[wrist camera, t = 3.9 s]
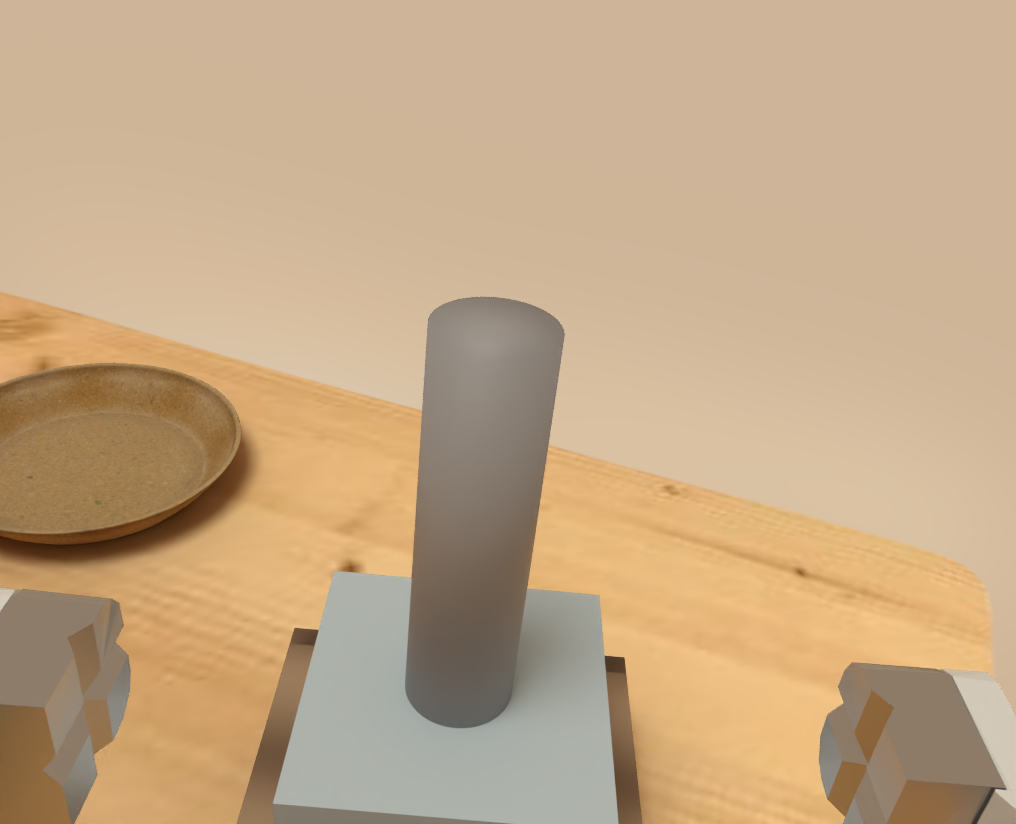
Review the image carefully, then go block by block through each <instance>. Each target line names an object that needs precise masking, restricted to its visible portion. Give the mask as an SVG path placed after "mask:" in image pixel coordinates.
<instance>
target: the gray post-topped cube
mask: <svg viewBox="0 0 1016 824" xmlns="http://www.w3.org/2000/svg"><path fill="white" fill-rule="evenodd" d="M427 329H428V330H427V345H426V360H425V376H424V391H423V408H422V423H421V439H420V455H419V470H418V486H417V502H416V518H415V534H414V549H413V565H412V578H407V577H396V576H385V575H374V574H363V573H352V572H341V571H334V575H333V578H332V582H331V586H330V590H329V594H328V597H327V601H326V605H325V609H324V612H323V616H322V620H321V624H320V628H319V631H318V635H317V639H316V643H315V646H314V650H313V654H312V658H311V661H310V665H309V669H308V673H307V677H306V680H305V684H304V688H303V692H302V695H301V699H300V703H299V707H298V711H297V714H296V718H295V722H294V726H293V729H292V733H291V737H290V741H289V745H288V748H287V752H286V756H285V760H284V763H283V767H282V771H281V775H280V778H279V782H278V786H277V790H276V794H275V797H274V801H273V819H274V824H619V823H618V811H617V799H616V787H615V775H614V763H613V751H612V740H611V728H610V716H609V704H608V692H607V680H606V668H605V656H604V644H603V632H602V620H601V608H600V596H599V595H592V594H581V593H570V592H559V591H548V590H537V589H527V586H528V579H529V572H530V566H531V559H532V552H533V545H534V539H535V532H536V525H537V518H538V512H539V505H540V498H541V491H542V484H543V478H544V471H545V464H546V457H547V451H548V444H549V437H550V430H551V423H552V417H553V410H554V403H555V396H556V389H557V383H558V376H559V369H560V363H561V356H562V349H563V342H564V329H563V327H562V325H561V324H560V322H559V321H558V320H557V319H556V318H555V317H553V316H552V315H551V314H549V313H547V312H546V311H544V310H542V309H540V308H538V307H535V306H533V305H530V304H527V303H524V302H520V301H516V300H511V299H505V298H496V297H472V298H463V299H458V300H454V301H451V302H448V303H445V304H443V305H441V306H439V307H438V308H436V309H435V310H434V311H433V312H432V313H431V314H430V316H429V319H428V328H427Z"/></svg>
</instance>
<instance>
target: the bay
mask: <svg viewBox="0 0 1016 824" xmlns="http://www.w3.org/2000/svg"><path fill="white" fill-rule="evenodd" d="M318 631H319V630H312V629H301V628H294V632H293V635H292V639H291V642H290V645H289V649H288V652H287V656H286V659H285V662H284V666H283V669H282V672H281V676H280V679H279V683H278V686H277V689H276V693H275V696H274V700H273V703H272V706H271V710H270V713H269V716H268V720H267V723H266V727H265V730H264V733H263V737H262V740H261V744H260V747H259V750H258V754H257V757H256V760H255V764H254V767H253V771H252V774H251V777H250V781H249V784H248V788H247V791H246V794H245V798H244V801H243V804H242V808H241V811H240V815H239V818H238V821H237V824H274V819H273V801H274V797H275V794H276V790H277V786H278V782H279V778H280V775H281V771H282V767H283V763H284V760H285V756H286V752H287V748H288V745H289V741H290V737H291V733H292V729H293V726H294V722H295V718H296V714H297V711H298V707H299V703H300V699H301V695H302V692H303V688H304V684H305V680H306V677H307V673H308V669H309V665H310V661H311V658H312V654H313V650H314V646H315V643H316V639H317V635H318ZM605 668H606V680H607V692H608V704H609V716H610V728H611V740H612V751H613V763H614V775H615V787H616V799H617V811H618V823H619V824H642V818H641V809H640V799H639V790H638V781H637V771H636V762H635V753H634V743H633V734H632V725H631V715H630V706H629V697H628V687H627V678H626V669H625V659H624V658H623V657H612V656H605Z"/></svg>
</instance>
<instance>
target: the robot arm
mask: <svg viewBox="0 0 1016 824" xmlns="http://www.w3.org/2000/svg"><path fill="white" fill-rule="evenodd" d="M123 626H124V625H123V620H122V615H121V610H120V605H119V603H118V602H116V601H114V600H113V599H108V598H99V597H90V596H81V595H72V594H63V593H54V592H45V591H36V590H27V589H22V590H17V589H9V588H0V824H74V823H75V821H76V819H77V817H78V815H79V812H80V810H81V808H82V806H83V804H84V802H85V800H86V798H87V796H88V793H89V791H90V789H91V787H92V785H93V783H94V781H95V779H96V777H97V770H96V764H95V759H94V754H95V753H96V752H98V751H99V750H100V749H102V748H103V747H105V746H106V745H107V744H109V743H110V742H112V741H113V740H114V738H115V736H116V733H117V731H118V729H119V727H120V724H121V722H122V720H123V717H124V713H125V709H126V705H127V700H128V696H129V692H130V664H129V657H128V654H127V653H126V652H125V651H124V650H123V649H122V648H121V647H120V646H119V645H118V644H117V643H116V642H115V641H116V639H117V637H118V635H119V633H120V632H121V630H122V628H123ZM838 688H839V691H840V694H841V696H842V699H843V702H844V703H843V704H842V705H841V706H839V707H838V708H836V709H835V710H833V711H832V712H830V713H829V714H828V715H827V718H826V721H825V724H824V727H823V730H822V733H821V736H820V752H819V763H820V771H821V778H822V782H823V786H824V789H825V793H826V796H827V799H828V800H829V801H830V802H831V803H832V804H833V805H834V806H835V807H836V808H837V809H838V810H839V811H840V812H841V813H842V814H843V815H844V816H845V820H844V822H843V824H1016V715H1015V713H1014V711H1013V709H1012V708H1011V706H1010V704H1009V702H1008V700H1007V699H1006V697H1005V695H1004V693H1003V691H1002V690H1001V688H1000V686H999V684H998V682H997V681H996V679H994V678H993V677H992V676H991V675H990V674H988V673H987V672H976V671H962V670H949V669H941V670H938V669H932V668H919V667H906V666H893V665H880V664H867V663H854V662H852V663H851V664H850V665H849V666H848V667H847V669H846V670H845V671H844V673H843V676H842V678H841V681H840V683H839V686H838Z"/></svg>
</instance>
